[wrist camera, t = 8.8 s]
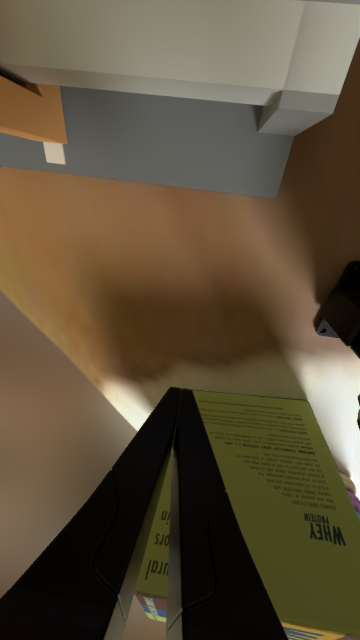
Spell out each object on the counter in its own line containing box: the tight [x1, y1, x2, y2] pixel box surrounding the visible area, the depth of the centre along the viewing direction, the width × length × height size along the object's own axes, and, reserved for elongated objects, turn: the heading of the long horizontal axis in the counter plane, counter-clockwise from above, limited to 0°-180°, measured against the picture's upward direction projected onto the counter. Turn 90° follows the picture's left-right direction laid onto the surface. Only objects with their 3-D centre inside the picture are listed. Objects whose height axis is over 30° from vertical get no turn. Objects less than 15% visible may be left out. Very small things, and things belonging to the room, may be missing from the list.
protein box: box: [134, 389, 360, 640], centre depth 21 cm, size 10×15×16 cm
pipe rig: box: [0, 0, 360, 199], centre depth 10 cm, size 20×9×6 cm, turn 85°
